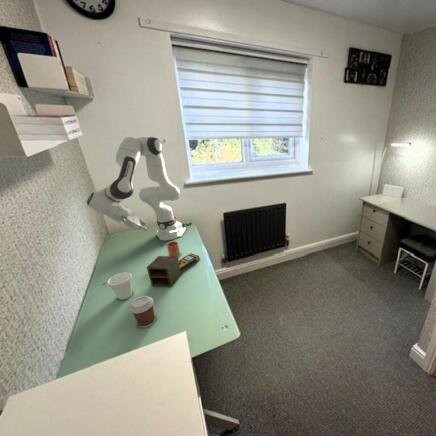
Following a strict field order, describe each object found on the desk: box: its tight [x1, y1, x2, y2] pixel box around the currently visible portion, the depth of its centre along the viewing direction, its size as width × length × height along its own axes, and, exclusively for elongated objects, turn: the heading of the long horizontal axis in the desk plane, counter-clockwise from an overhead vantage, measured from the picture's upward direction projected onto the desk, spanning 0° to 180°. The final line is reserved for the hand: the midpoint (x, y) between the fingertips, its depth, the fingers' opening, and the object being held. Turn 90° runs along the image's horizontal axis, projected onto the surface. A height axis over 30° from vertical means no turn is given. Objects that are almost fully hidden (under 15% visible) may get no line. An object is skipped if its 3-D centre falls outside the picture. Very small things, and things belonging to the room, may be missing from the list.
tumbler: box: [166, 241, 181, 258], centre depth 153 cm, size 6×6×9 cm
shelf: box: [146, 255, 182, 288], centre depth 130 cm, size 11×11×12 cm
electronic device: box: [178, 252, 200, 272], centre depth 145 cm, size 8×16×3 cm, turn 154°
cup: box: [106, 272, 133, 300], centre depth 118 cm, size 10×10×11 cm
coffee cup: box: [128, 295, 156, 329], centre depth 103 cm, size 9×9×12 cm
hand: (145, 227), depth 139 cm, fingers open, 8 cm apart
